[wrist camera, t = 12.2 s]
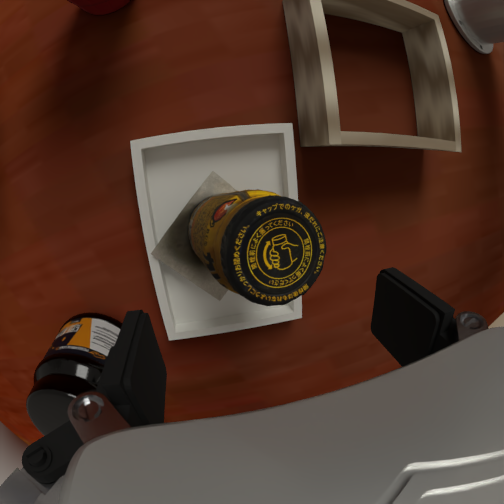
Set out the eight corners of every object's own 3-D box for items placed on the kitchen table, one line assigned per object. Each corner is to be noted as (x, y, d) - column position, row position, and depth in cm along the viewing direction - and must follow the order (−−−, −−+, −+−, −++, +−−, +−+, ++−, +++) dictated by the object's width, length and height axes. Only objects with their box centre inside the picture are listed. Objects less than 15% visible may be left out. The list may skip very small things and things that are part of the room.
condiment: (276, 223, 26) (363, 239, 14) (219, 300, 25) (268, 372, 14) (212, 170, 23) (261, 141, 12) (150, 253, 23) (142, 299, 11)
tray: (136, 142, 22) (130, 141, 20) (283, 126, 24) (292, 123, 22) (170, 326, 28) (169, 340, 25) (293, 305, 30) (301, 317, 27)
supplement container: (125, 298, 26) (94, 381, 15) (161, 376, 30) (158, 462, 18) (46, 317, 25) (-1, 387, 13) (87, 387, 28) (66, 462, 17)
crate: (282, 1, 20) (303, -28, 14) (406, 28, 22) (438, 15, 16) (300, 146, 25) (329, 144, 19) (424, 149, 27) (461, 152, 22)
